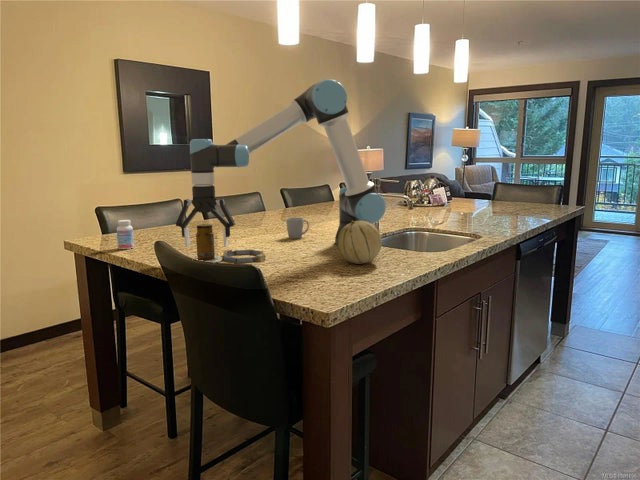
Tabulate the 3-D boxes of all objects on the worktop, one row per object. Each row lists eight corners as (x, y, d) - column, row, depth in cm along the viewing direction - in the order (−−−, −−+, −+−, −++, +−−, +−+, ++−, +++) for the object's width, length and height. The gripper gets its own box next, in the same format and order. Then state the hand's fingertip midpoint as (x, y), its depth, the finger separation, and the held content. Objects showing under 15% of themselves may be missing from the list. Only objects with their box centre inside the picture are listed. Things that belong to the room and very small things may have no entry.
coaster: (228, 259, 169) (227, 258, 169) (206, 265, 161) (206, 263, 161) (208, 256, 174) (208, 254, 174) (186, 261, 166) (186, 260, 166)
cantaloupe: (389, 262, 163) (390, 219, 160) (364, 270, 152) (364, 224, 149) (355, 256, 172) (355, 215, 170) (328, 263, 162) (328, 220, 159)
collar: (275, 257, 172) (275, 251, 172) (249, 265, 161) (249, 259, 160) (239, 251, 182) (238, 246, 182) (211, 258, 171) (211, 253, 170)
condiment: (206, 255, 173) (204, 222, 171) (223, 258, 169) (222, 224, 167) (191, 259, 167) (189, 225, 165) (209, 262, 163) (207, 227, 161)
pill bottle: (117, 250, 186) (114, 222, 184) (119, 247, 192) (116, 219, 190) (133, 249, 188) (131, 221, 186) (135, 246, 194) (133, 219, 192)
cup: (284, 237, 212) (284, 217, 210) (306, 235, 215) (306, 216, 213) (288, 240, 204) (288, 220, 203) (311, 238, 207) (310, 219, 206)
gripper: (241, 184, 165) (244, 244, 169) (171, 184, 167) (175, 243, 171) (236, 185, 158) (239, 248, 162) (163, 186, 160) (167, 248, 164)
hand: (206, 246), depth 167 cm, fingers open, 13 cm apart
